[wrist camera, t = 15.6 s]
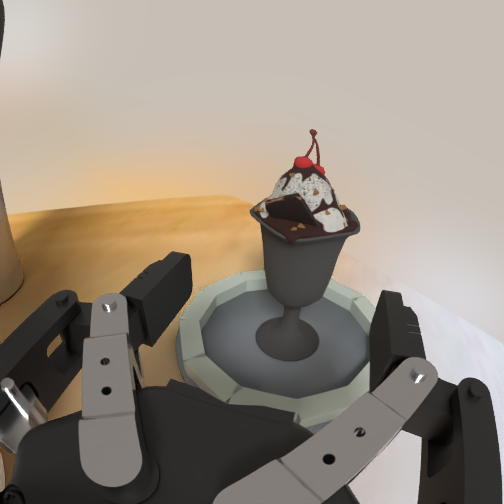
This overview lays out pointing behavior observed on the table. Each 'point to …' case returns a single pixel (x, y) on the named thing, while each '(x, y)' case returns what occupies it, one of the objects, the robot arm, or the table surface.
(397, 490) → the table surface
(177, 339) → the tray
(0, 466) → the decorative vase
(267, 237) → the sundae
